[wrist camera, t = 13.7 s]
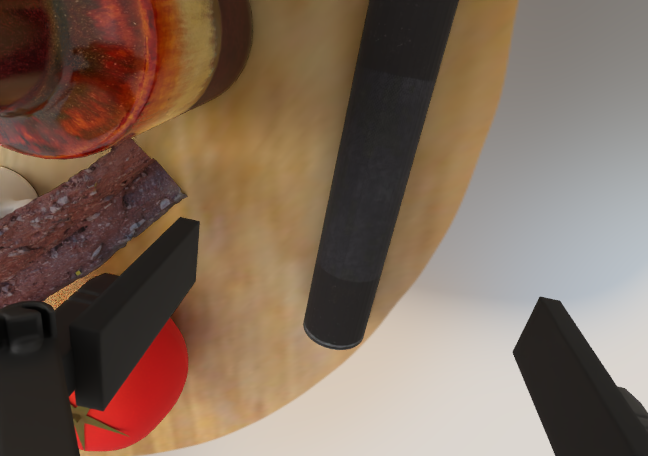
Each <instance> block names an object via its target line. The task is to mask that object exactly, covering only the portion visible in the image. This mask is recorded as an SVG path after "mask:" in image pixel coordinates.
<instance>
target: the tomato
mask: <svg viewBox="0 0 648 456" xmlns="http://www.w3.org/2000/svg"><path fill="white" fill-rule="evenodd" d="M187 373H188V353H187V348H186V344H185V340H184V338H183V336H182V334H181V332H180V330H179V329H178V327H177V326H176V325H175V323H174V322H173V320H172V319H171V318H169V320H168V321H167V322H166V324H165V325H164V327H163V328H162V330H161V331H160V332H159V334H158V335H157V337H156V338H155V339H154V341H153V342H152V344H151V345H150V346H149V348H148V349H147V351H146V352H145V353H144V355H143V356H142V358H141V359H140V361H139V362H138V363H137V365H136V366H135V368H134V369H133V370H132V372H131V373H130V375H129V376H128V377H127V379H126V380H125V382H124V383H123V385H122V386H121V387H120V389H119V390H118V392H117V393H116V394H115V396H114V397H113V399H112V400H111V401H110V403H109V404H108V406H107V407H106V408H105V410H104V411H99V410H94V409H90V408H86V407H81V406H77V405H76V400H75V390H74V392H73V393H72V394H71V395H70V396H69V400H70V405H71V411H72V416H73V421H74V427H75V432H76V437H77V442H78V448H79V449H81V450H84V451H112V450H118V449H122V448H126V447H128V446H130V445H132V444H135V443H136V442H138V441H140V440H141V439H143V438H144V437H146V436H147V435H148V434H149V433H150V432H151V431H152V430H153V429H154V428H155V427H156V426H157V425H158V424H159V423H160V422H161V421H162V420H163V418H164V417H165V416H166V415H167V414H168V413H169V411H170V410H171V409H172V408H173V406H174V405H175V403H176V402H177V400H178V398H179V396H180V394H181V392H182V390H183V387H184V384H185V382H186V378H187Z"/></svg>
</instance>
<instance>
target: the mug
mask: <svg viewBox="0 0 648 456" xmlns="http://www.w3.org/2000/svg"><path fill="white" fill-rule="evenodd" d="M37 197H38V195H37V193H36V191H35V190H34V188H33V187H32V186H31V185H30V184H29V183H28V181H26V180H25V179H24V178H23V177H22V176H20V175H19V174H17V173H16V172H14V171H12V170H10V169H7V168H4V167H0V219H1V218H3V217H4V216H6V215H7V214H10V213H12V212H13V211H14V210H15V209H17V208H20V207H23V206H25V205H26V204H28V203H29V202H31V201H32V200H33V199H35V198H37Z"/></svg>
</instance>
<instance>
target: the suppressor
mask: <svg viewBox="0 0 648 456" xmlns="http://www.w3.org/2000/svg"><path fill="white" fill-rule="evenodd" d="M458 1H459V0H369V5H368V10H367V15H366V19H365V24H364V29H363V34H362V39H361V44H360V49H359V54H358V59H357V63H356V68H355V73H354V78H353V83H352V88H351V93H350V98H349V103H348V108H347V112H346V117H345V122H344V127H343V132H342V137H341V142H340V147H339V152H338V157H337V161H336V166H335V171H334V176H333V181H332V186H331V191H330V196H329V201H328V205H327V210H326V215H325V220H324V225H323V230H322V235H321V240H320V245H319V250H318V254H317V259H316V264H315V269H314V274H313V279H312V284H311V289H310V294H309V298H308V303H307V308H306V313H305V318H304V324H303V325H304V330H305V332H306V334H307V335H308V336H309V338H310V339H311V340H313V341H314V342H315V343H317V344H319V345H321V346H323V347H326V348H329V349H335V350H346V349H351V348H353V347H355V346H357V345H358V344H359V343H360V342H361V341H362V339H363V336H364V333H365V329H366V326H367V322H368V319H369V315H370V312H371V308H372V305H373V301H374V298H375V294H376V290H377V287H378V283H379V280H380V276H381V273H382V269H383V266H384V262H385V259H386V255H387V252H388V248H389V245H390V241H391V238H392V234H393V231H394V227H395V223H396V220H397V216H398V213H399V209H400V206H401V202H402V199H403V195H404V192H405V188H406V185H407V181H408V178H409V174H410V171H411V167H412V164H413V160H414V157H415V153H416V149H417V146H418V142H419V139H420V135H421V132H422V128H423V125H424V121H425V118H426V114H427V111H428V107H429V104H430V100H431V97H432V93H433V90H434V86H435V82H436V79H437V75H438V72H439V68H440V65H441V61H442V58H443V54H444V51H445V47H446V44H447V40H448V37H449V33H450V30H451V26H452V23H453V19H454V16H455V12H456V8H457V5H458Z"/></svg>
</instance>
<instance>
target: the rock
mask: <svg viewBox="0 0 648 456" xmlns="http://www.w3.org/2000/svg"><path fill="white" fill-rule="evenodd" d="M180 190H181V188H180V187H179V186H178V185H177V184H176V183H175V182H174V181H173V179H172V178H171V177H170V176H169V175H168V174H167V172H166V171H165V170H164V169H163V168H162V167H161V165H160V164H159V163H158V162H157V161H156V160H154V159H153V158H152V159H151V158H150V157H149V156H148V155H147V154H146V153H145V152H144V151H143V150H142V149H141V148H140V147H139V146H138V145H137V144H136V143H135V142H134V141H133V140H132V139H131V138H130V139H128V140H126V141H124V142H122V143H119V144H117V145H115V146H113V147H112V149H111V151H110V152H109V153H108V154H106V155H105V156H103V157H101V158H99V159H98V160H97V161H96V162H95V163H93V164H92V165H91V166H90V167H89V168H88V169H85V170H81V171H80V172H79V173H78V174H76V175H75V176H73V177H71V178H70V179H69V181H68V182H65V183H63V184H61V185H60V186H58V187H56V188H55V189H53V190H52V191H50V192H48V193H46V194H44V195H42V196H40V197H37V198H35V199H33V200H32V201H31V202H29V203H28V204H26V205H25V206H23V207H20V208H17V209H15V210H14V211H13V212H12V213H10V214H7V215H6V216H4V217H3V218H1V219H0V309H1V308H3V307H6V306H8V305H10V304H14V303H18V302H21V301H39V302H42V301H45V300H46V298H47V297H49V296H50V295H52V294H54V293H55V292H57V291H59V290H60V289H62V288H64V287H65V286H67V285H69V284H71V283H72V282H74V281H75V280H77V279H79V278H83V277H85V276H86V275H88V274H89V273H91V272H92V271H94V270H95V269H97V268H98V267H100V266H101V265H103V264H104V263H105V262H106V261H107V260H108V259H109V258H110V257H111V256H112V255H113V254H114V253H115V252H116V251H118V250H119V249H120V248H123V247H125V246H126V244H127V242H128V241H130V240H131V239H132V238H133V237H137V236H138V235H139V234H141V233H142V232H143V231H145V229H147V228H148V227H149V226H150V225H151V224H152V223H153V222H155V221H157V220H158V219H159V218H160V217H161V216H162V215H164V214H165V213H166V212H167V211H168V210H169V209H170V208H171V207H172V206H173V205H174V204H177V203H179V202H180V201H181V200H182V199H184V198H186V197H188V196H187V195H185V194H183V193H182V192H180Z"/></svg>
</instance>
